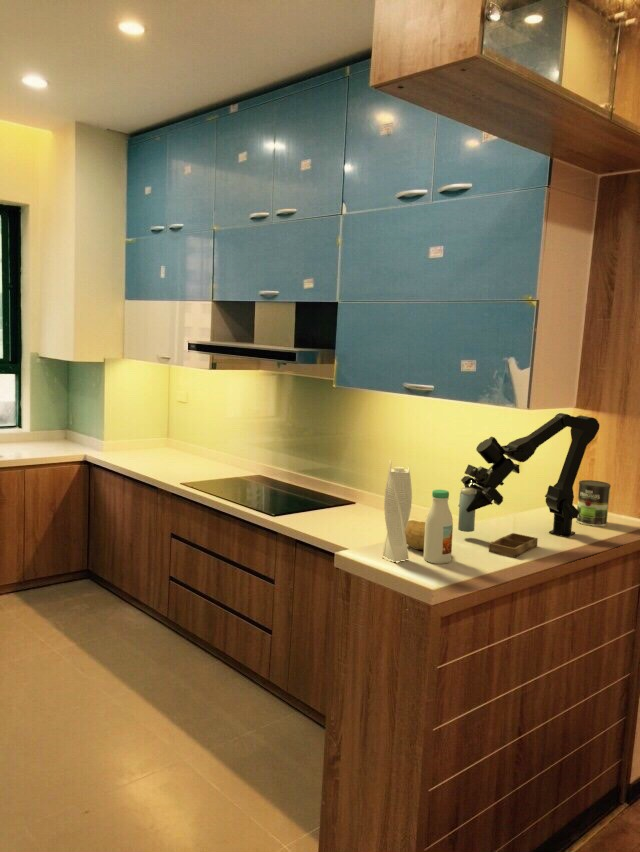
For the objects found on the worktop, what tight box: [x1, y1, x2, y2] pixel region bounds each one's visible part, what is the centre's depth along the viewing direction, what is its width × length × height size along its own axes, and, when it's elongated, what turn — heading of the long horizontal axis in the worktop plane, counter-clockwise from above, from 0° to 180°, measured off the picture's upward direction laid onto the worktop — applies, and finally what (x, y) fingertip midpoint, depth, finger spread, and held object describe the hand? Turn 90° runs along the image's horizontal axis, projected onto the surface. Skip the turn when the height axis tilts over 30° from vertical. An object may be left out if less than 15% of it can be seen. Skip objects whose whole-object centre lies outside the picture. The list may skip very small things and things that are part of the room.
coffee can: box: [575, 479, 612, 527], centre depth 249 cm, size 10×10×14 cm
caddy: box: [488, 532, 538, 559], centre depth 216 cm, size 16×8×3 cm, turn 140°
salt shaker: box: [457, 487, 476, 533], centre depth 225 cm, size 5×5×13 cm
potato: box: [405, 519, 426, 551], centre depth 213 cm, size 10×14×8 cm
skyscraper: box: [382, 459, 413, 562], centre depth 201 cm, size 8×8×28 cm
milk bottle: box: [423, 489, 454, 565], centre depth 201 cm, size 8×8×20 cm
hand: (463, 509), depth 224 cm, fingers closed on salt shaker, 5 cm apart
